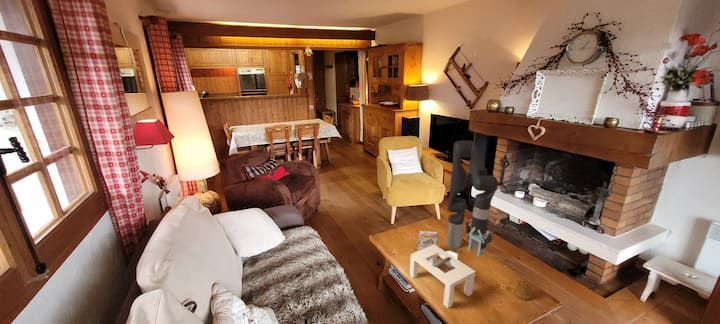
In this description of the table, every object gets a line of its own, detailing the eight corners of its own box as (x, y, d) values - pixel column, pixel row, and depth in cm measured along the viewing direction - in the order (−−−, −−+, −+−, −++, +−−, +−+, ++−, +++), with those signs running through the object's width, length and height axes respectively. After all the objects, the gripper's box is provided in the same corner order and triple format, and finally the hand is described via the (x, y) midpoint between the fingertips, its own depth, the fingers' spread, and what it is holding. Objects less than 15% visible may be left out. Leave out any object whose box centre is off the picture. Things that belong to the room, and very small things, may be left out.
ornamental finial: (533, 299, 145) (522, 302, 143) (522, 289, 151) (510, 292, 149) (536, 286, 142) (524, 289, 140) (524, 276, 149) (512, 279, 147)
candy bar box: (418, 258, 177) (419, 234, 172) (417, 253, 182) (418, 230, 177) (436, 259, 176) (438, 235, 171) (435, 254, 181) (437, 231, 176)
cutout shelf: (432, 264, 171) (434, 242, 166) (472, 294, 148) (475, 269, 144) (409, 275, 162) (410, 252, 157) (447, 308, 139) (450, 282, 135)
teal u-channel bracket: (473, 248, 147) (475, 232, 145) (483, 254, 142) (486, 238, 140) (468, 250, 145) (470, 235, 142) (478, 256, 140) (481, 241, 138)
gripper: (499, 219, 134) (494, 250, 139) (472, 207, 145) (469, 236, 150) (489, 223, 130) (485, 255, 135) (463, 211, 141) (459, 240, 146)
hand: (476, 245), depth 143 cm, fingers closed on teal u-channel bracket, 6 cm apart
